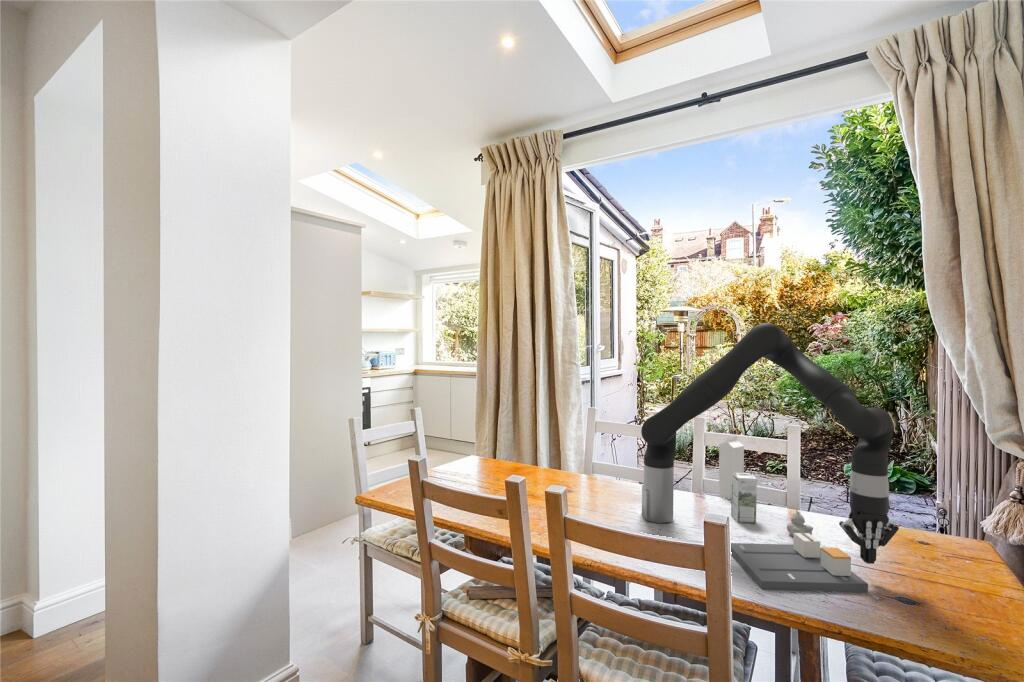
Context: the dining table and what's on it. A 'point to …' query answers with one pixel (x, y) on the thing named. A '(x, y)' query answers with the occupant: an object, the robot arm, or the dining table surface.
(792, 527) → the grey figurine
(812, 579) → the fader console
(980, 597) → the dining table surface
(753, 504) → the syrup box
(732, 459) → the milk
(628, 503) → the dining table surface
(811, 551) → the cream cap
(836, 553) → the orange fader cap
